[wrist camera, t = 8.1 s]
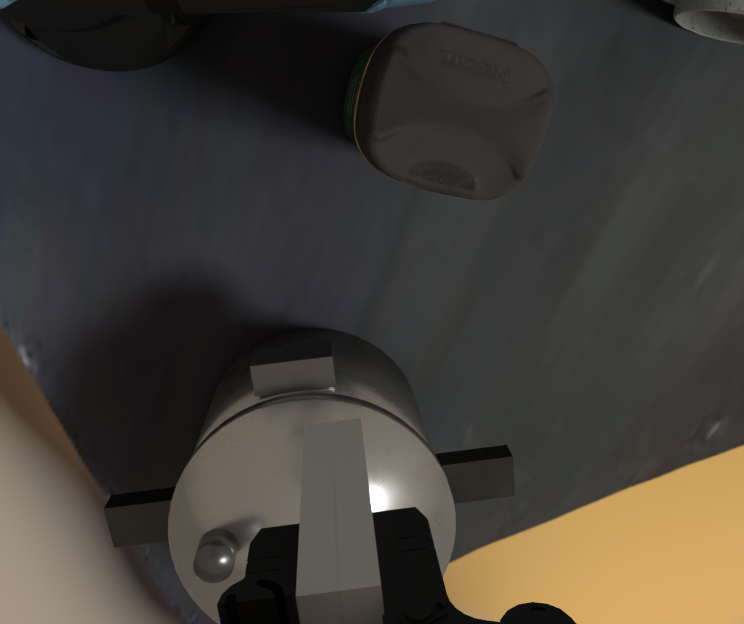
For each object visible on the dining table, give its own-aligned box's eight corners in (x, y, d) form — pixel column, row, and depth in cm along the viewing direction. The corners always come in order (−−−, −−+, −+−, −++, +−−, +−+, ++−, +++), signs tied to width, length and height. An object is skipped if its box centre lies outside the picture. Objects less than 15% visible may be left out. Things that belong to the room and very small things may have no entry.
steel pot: (120, 325, 52) (64, 390, 41) (471, 284, 53) (512, 335, 42) (168, 537, 58) (131, 645, 47) (484, 496, 59) (523, 592, 48)
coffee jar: (332, 146, 49) (339, 174, 32) (359, 32, 47) (382, -7, 30) (460, 179, 51) (534, 223, 33) (492, 69, 49) (590, 54, 31)
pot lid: (465, 661, 48) (474, 699, 45) (207, 697, 47) (199, 737, 44) (441, 375, 42) (450, 395, 39) (147, 411, 42) (132, 434, 38)
